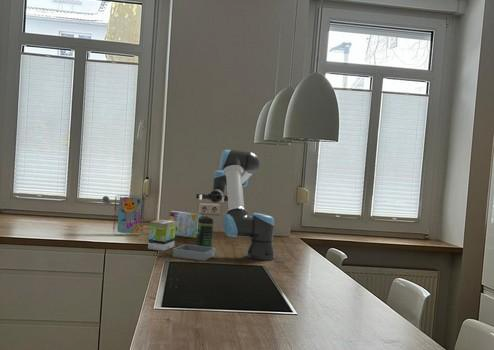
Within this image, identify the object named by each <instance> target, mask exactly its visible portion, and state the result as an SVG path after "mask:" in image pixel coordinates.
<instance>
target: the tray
mask: <svg viewBox="0 0 494 350" xmlns="http://www.w3.org/2000/svg"><path fill="white" fill-rule="evenodd" d="M216 250H217V249H216V247H212V246H211V247H206V246H198V245H195V244H189V243H188V244H187V243H185V244H183V245H182V244H181V245H180V246H177V247H173V249H172V257H173V258H182V259H188V260H189V259H190V260H196V261H203V262H204V261H207V260H208V259H211V258H213V257H215V256H216Z"/></svg>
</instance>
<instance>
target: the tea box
mask: <svg viewBox="0 0 494 350" xmlns="http://www.w3.org/2000/svg"><path fill="white" fill-rule="evenodd" d="M175 230H176V221H169V219H168V220H166V219H158V220H153V221H150V223H149V231H148V232H149V233H148V243H147V249H149V250H156V251H163V252H164V251H167V250H169V249H172V248H175V242H176V240H175V239H176V235H175Z"/></svg>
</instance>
